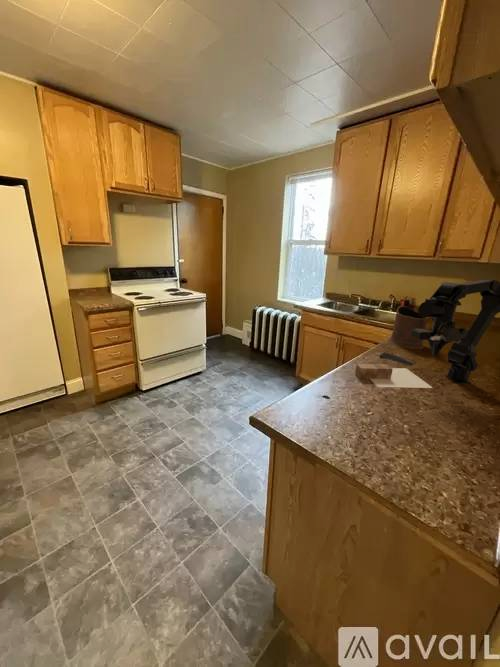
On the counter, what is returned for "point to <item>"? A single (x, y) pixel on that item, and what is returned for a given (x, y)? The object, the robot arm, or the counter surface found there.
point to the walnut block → (373, 371)
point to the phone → (396, 359)
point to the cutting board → (401, 380)
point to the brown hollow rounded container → (407, 328)
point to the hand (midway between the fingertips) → (434, 355)
